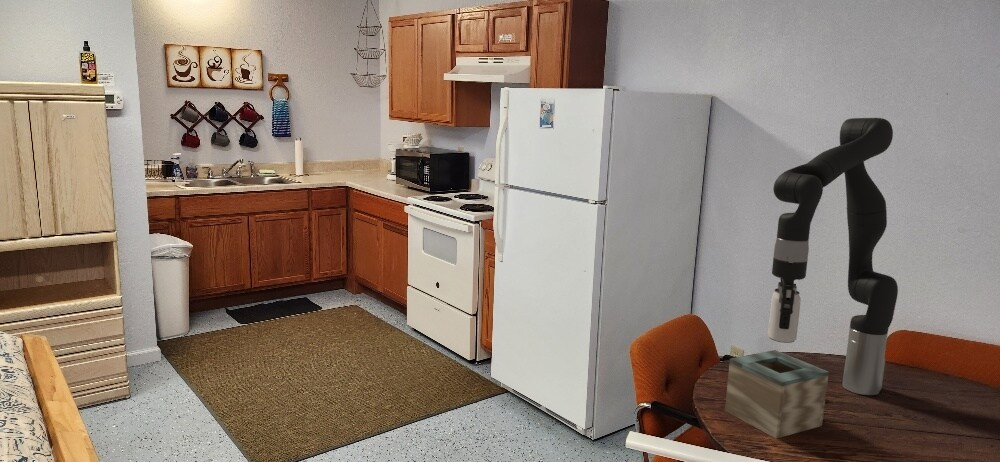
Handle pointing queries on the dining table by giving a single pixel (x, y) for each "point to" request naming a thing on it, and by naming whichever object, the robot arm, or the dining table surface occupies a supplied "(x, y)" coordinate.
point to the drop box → (776, 393)
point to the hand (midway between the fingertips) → (783, 324)
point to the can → (774, 329)
